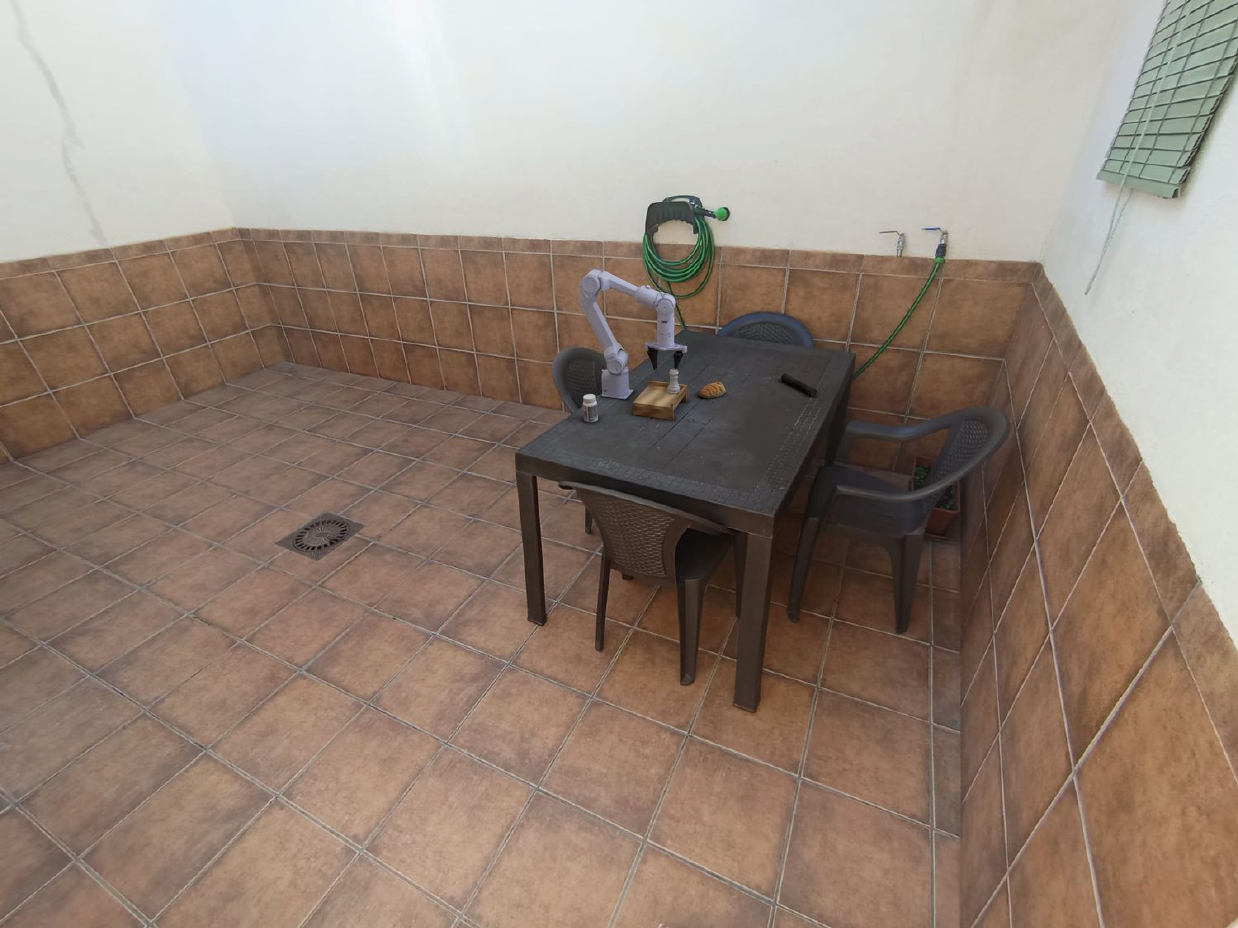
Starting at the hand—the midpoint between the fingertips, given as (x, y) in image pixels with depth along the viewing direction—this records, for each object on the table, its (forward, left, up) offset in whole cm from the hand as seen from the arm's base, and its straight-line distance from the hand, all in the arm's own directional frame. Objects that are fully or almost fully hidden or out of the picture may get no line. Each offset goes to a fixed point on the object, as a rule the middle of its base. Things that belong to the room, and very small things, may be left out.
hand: (665, 370), depth 195 cm
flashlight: (+43, +22, -10) cm, 49 cm away
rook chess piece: (+5, -5, -6) cm, 9 cm away
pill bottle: (-18, -25, -10) cm, 32 cm away
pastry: (+15, +7, -10) cm, 20 cm away
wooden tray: (+1, -9, -10) cm, 14 cm away
